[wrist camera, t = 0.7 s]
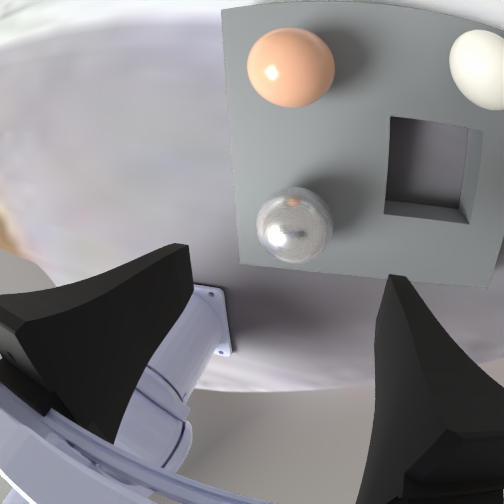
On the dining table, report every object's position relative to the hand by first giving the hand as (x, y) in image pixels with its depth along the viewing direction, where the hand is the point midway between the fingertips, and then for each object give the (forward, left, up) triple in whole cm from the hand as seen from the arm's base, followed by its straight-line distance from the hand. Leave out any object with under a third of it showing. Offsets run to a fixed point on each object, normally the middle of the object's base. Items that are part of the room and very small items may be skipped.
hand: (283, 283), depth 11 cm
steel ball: (-1, -1, -6) cm, 6 cm away
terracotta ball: (-1, +7, -6) cm, 10 cm away
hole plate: (+4, +3, -10) cm, 12 cm away
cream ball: (+9, +8, -6) cm, 14 cm away
